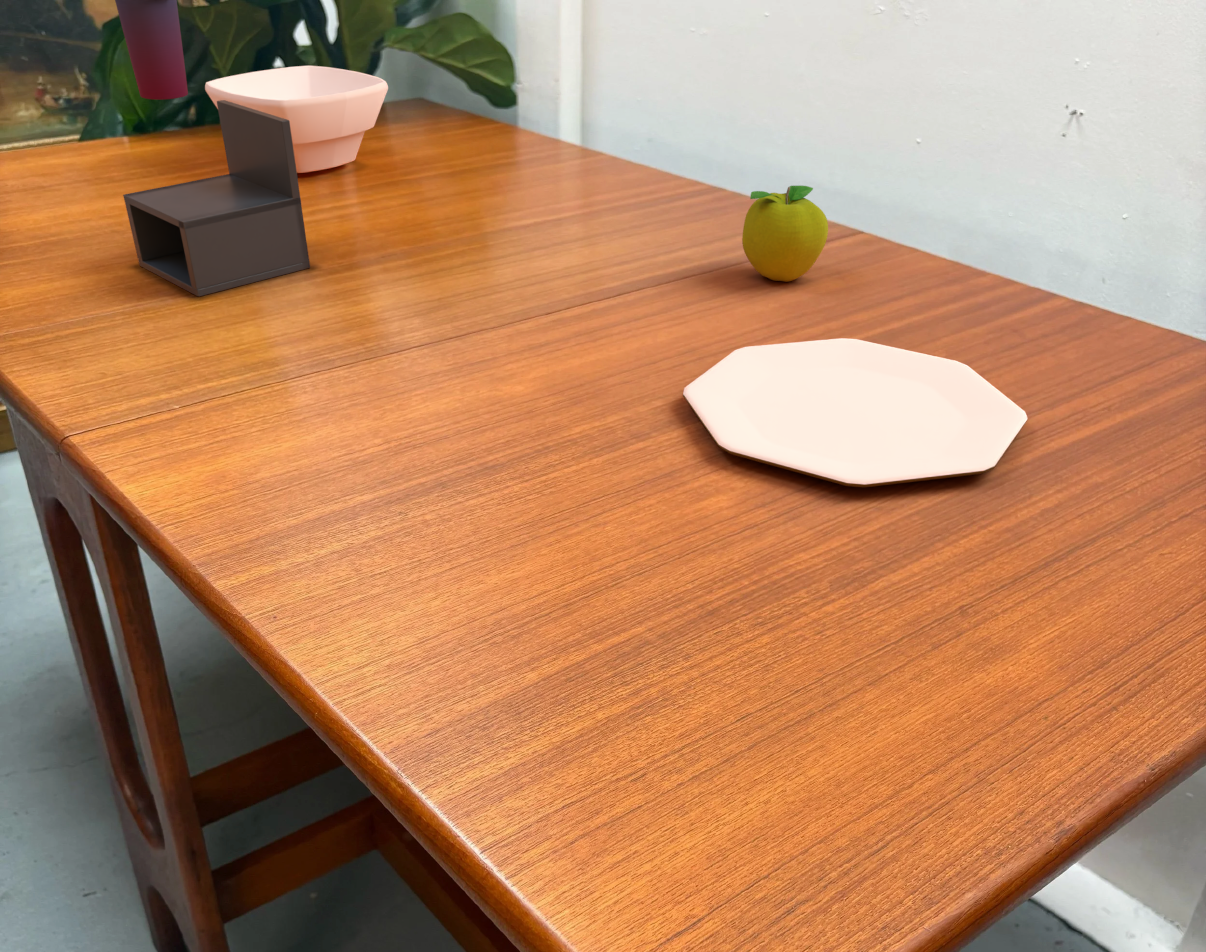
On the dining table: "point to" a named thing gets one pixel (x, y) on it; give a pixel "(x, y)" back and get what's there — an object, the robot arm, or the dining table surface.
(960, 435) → the plate
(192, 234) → the dark grey toy chair
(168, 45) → the cup
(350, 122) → the bowl
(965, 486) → the dining table surface
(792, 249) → the fruit
